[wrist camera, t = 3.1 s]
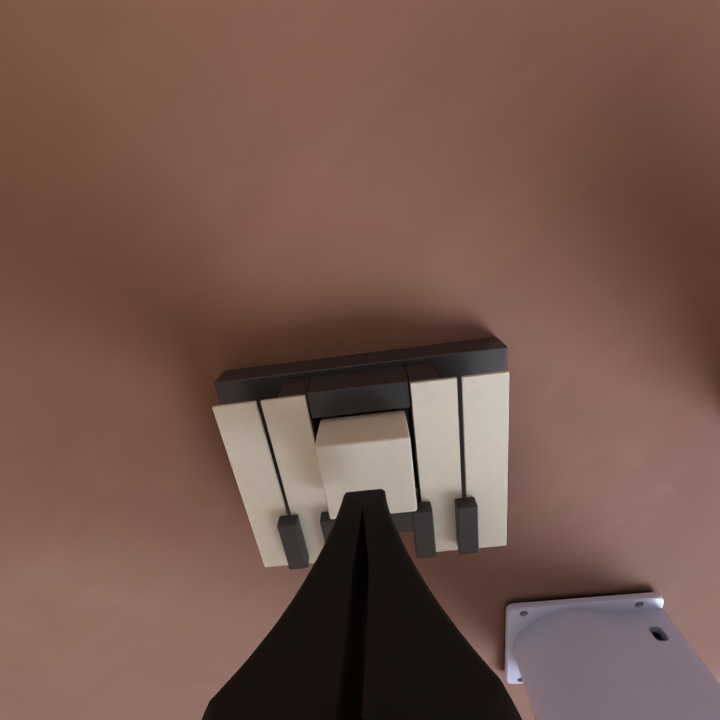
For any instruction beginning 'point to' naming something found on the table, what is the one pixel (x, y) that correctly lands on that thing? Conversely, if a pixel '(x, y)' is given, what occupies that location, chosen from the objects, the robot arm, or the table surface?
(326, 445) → the square cream block
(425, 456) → the piano keys trim
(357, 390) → the toy piano
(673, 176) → the table surface
